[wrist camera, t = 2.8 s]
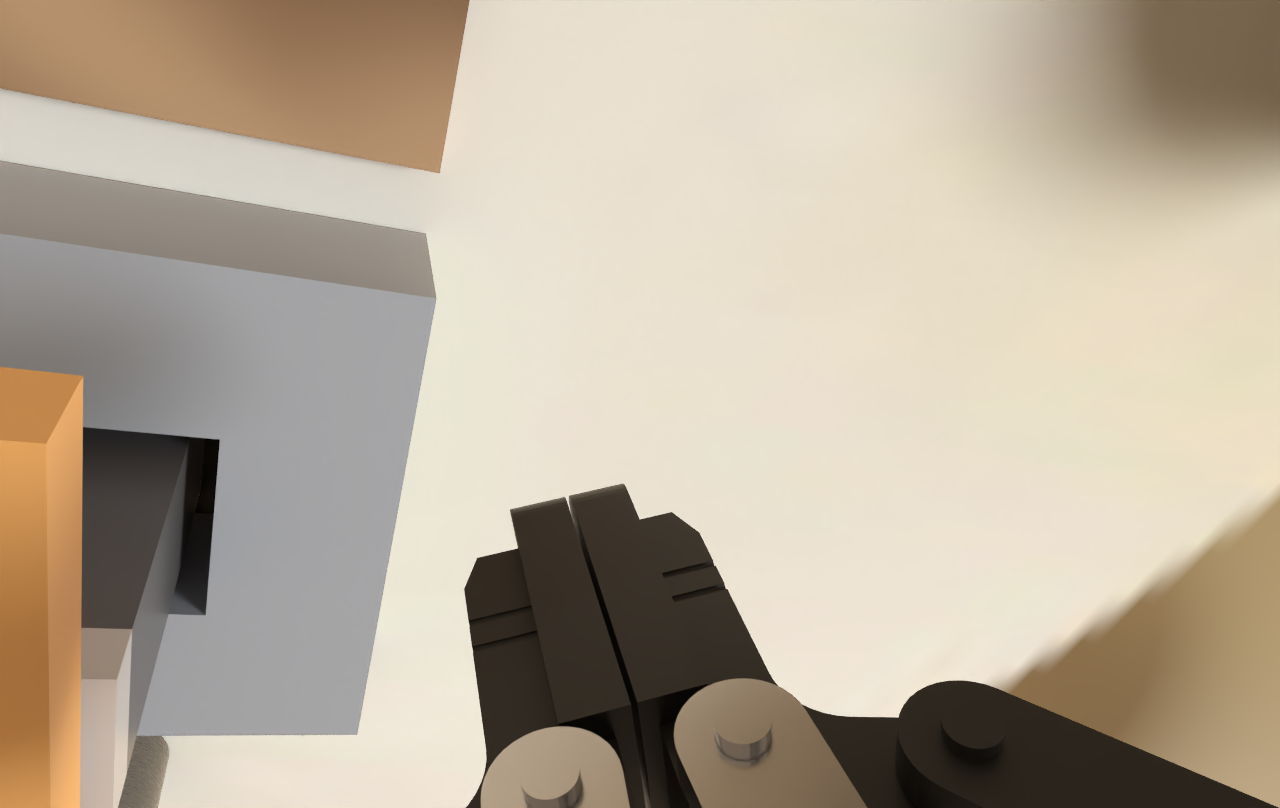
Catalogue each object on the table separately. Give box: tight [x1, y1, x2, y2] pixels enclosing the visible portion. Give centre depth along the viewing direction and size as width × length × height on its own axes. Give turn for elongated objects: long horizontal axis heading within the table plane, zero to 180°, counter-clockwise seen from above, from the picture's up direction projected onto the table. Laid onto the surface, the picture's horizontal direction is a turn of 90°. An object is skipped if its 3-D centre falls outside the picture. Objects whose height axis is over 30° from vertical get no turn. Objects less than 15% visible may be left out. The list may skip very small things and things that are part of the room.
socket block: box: [0, 161, 436, 736], centre depth 19 cm, size 11×11×4 cm
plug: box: [80, 427, 204, 808], centre depth 17 cm, size 3×3×9 cm
